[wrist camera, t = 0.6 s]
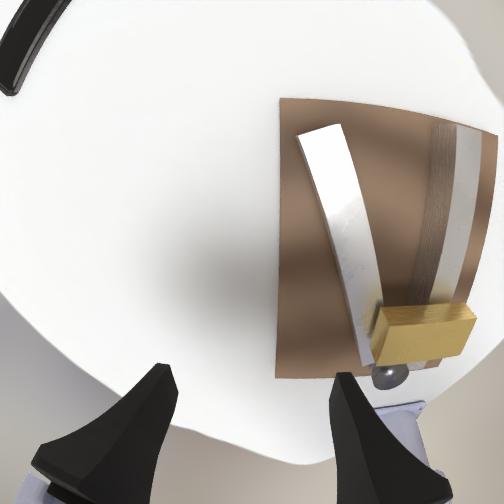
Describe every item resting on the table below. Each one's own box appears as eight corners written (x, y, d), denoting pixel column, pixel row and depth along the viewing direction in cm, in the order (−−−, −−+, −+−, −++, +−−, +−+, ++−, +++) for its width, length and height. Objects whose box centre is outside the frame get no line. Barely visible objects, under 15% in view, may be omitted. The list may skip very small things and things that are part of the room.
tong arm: (378, 331, 19) (389, 358, 17) (354, 339, 20) (362, 366, 17) (328, 125, 14) (339, 123, 11) (294, 135, 15) (299, 135, 12)
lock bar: (449, 338, 15) (460, 355, 13) (369, 346, 16) (376, 366, 14) (464, 302, 14) (477, 317, 12) (380, 307, 15) (389, 326, 13)
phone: (103, -46, 9) (10, 99, 14) (110, -41, 10) (18, 99, 15) (61, -50, 7) (-16, 74, 13) (67, -47, 8) (-9, 74, 14)
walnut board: (434, 359, 22) (438, 366, 21) (275, 369, 23) (274, 378, 22) (490, 134, 13) (498, 135, 12) (279, 100, 15) (279, 98, 14)
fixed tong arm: (406, 356, 20) (418, 385, 17) (360, 360, 21) (369, 391, 18) (454, 129, 13) (486, 132, 10) (398, 116, 14) (425, 115, 10)
